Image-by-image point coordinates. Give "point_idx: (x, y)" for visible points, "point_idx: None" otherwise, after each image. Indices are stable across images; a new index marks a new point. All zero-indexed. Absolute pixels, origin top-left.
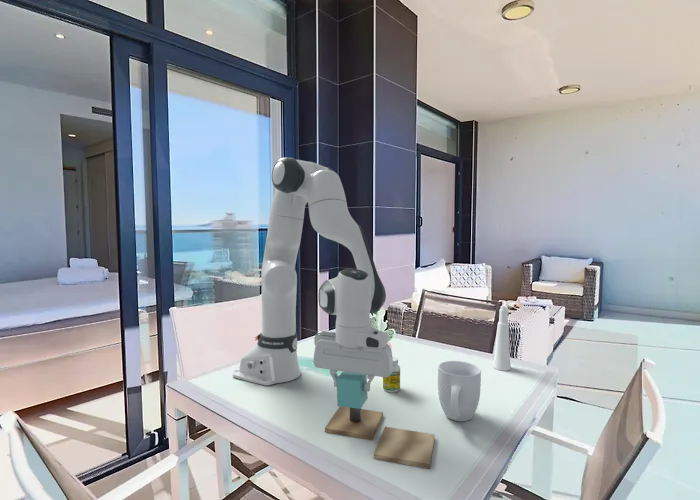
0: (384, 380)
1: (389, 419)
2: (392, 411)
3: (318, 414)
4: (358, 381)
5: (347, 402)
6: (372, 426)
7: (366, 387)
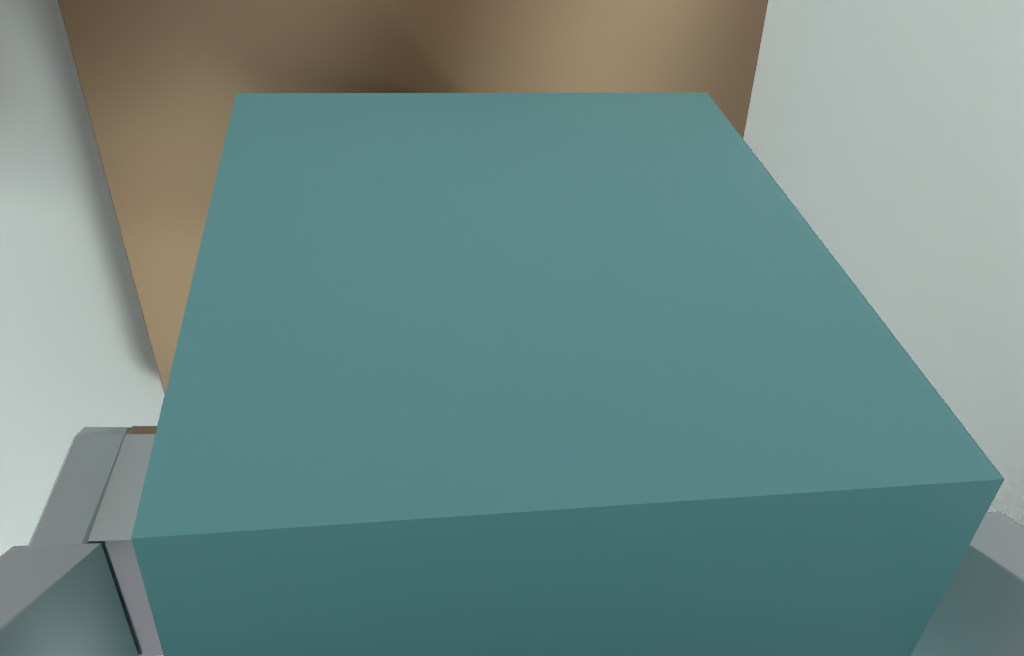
0: None
1: (76, 349)
2: None
3: (919, 204)
4: (178, 512)
5: (518, 132)
6: (140, 81)
7: (96, 493)
